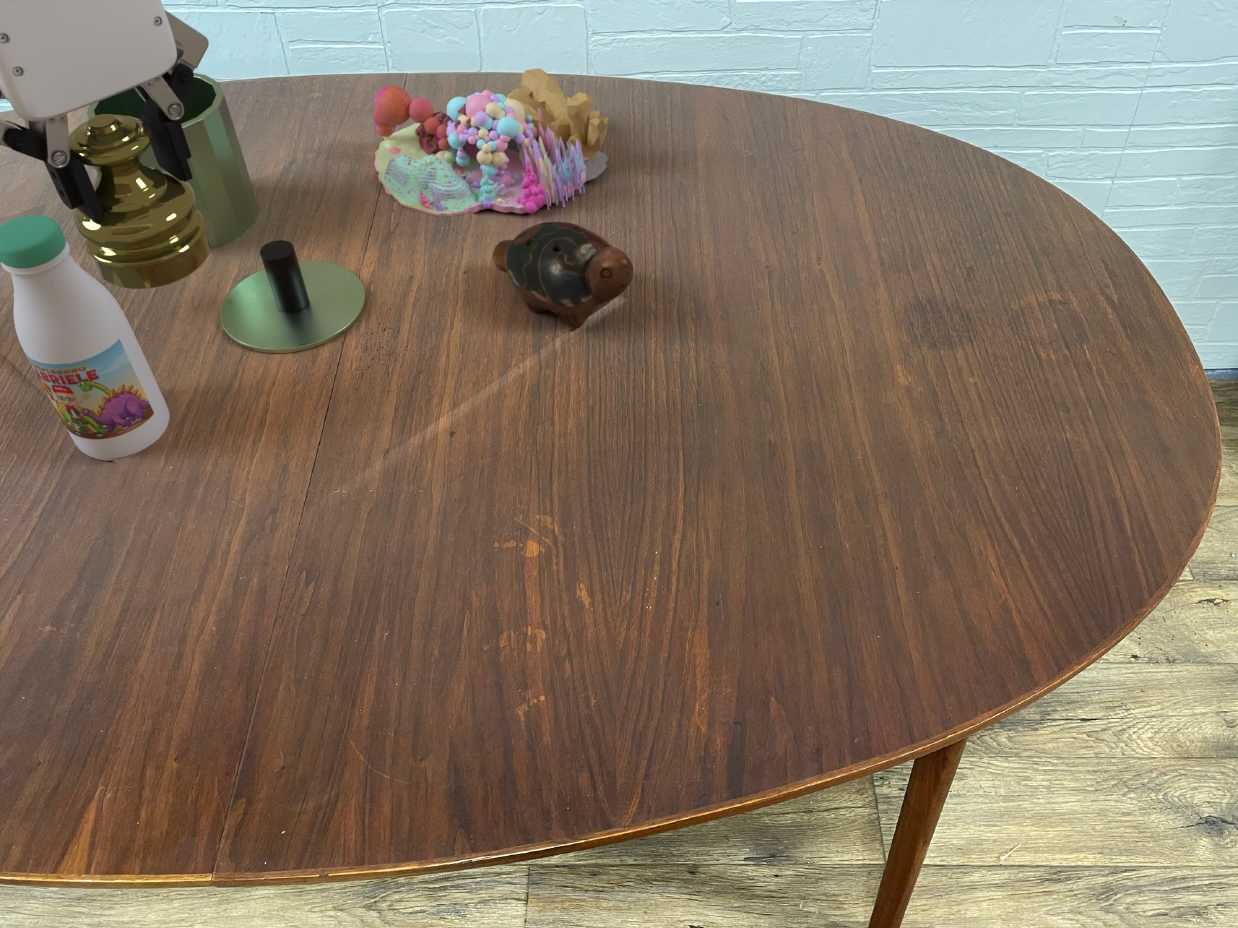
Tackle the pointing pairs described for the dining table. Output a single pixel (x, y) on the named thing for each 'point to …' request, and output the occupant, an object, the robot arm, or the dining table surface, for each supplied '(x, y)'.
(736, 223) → the dining table surface
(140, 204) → the gold knobbed round piece
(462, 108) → the candy landscape model
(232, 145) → the tin
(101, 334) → the milk bottle
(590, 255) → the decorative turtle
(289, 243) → the tin lid
